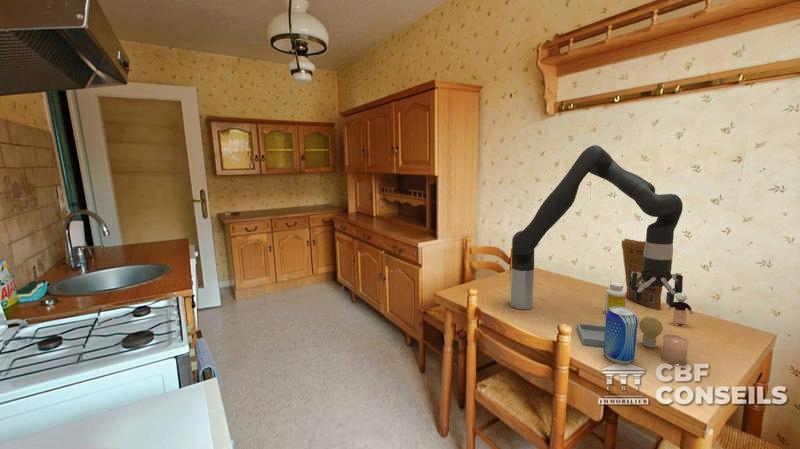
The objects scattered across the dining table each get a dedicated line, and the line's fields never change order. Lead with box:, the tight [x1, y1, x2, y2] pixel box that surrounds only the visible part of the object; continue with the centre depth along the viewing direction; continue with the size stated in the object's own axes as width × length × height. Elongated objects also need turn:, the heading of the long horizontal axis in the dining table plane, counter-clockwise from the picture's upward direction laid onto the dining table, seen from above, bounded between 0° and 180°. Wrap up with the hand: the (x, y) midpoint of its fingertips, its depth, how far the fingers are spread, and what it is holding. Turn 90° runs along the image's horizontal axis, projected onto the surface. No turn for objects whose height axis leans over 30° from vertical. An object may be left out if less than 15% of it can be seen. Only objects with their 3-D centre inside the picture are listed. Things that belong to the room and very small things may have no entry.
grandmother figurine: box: [666, 292, 694, 328], centre depth 130 cm, size 8×4×13 cm, turn 71°
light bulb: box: [638, 316, 664, 348], centre depth 116 cm, size 6×6×10 cm
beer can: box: [602, 307, 639, 365], centre depth 109 cm, size 8×8×16 cm
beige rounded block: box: [661, 334, 689, 366], centre depth 107 cm, size 6×6×7 cm
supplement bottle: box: [604, 281, 626, 314], centre depth 140 cm, size 7×7×13 cm
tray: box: [576, 322, 605, 348], centre depth 122 cm, size 12×12×2 cm
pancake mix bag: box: [621, 238, 664, 310], centre depth 149 cm, size 7×19×28 cm, turn 16°
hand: (653, 303), depth 114 cm, fingers open, 8 cm apart
